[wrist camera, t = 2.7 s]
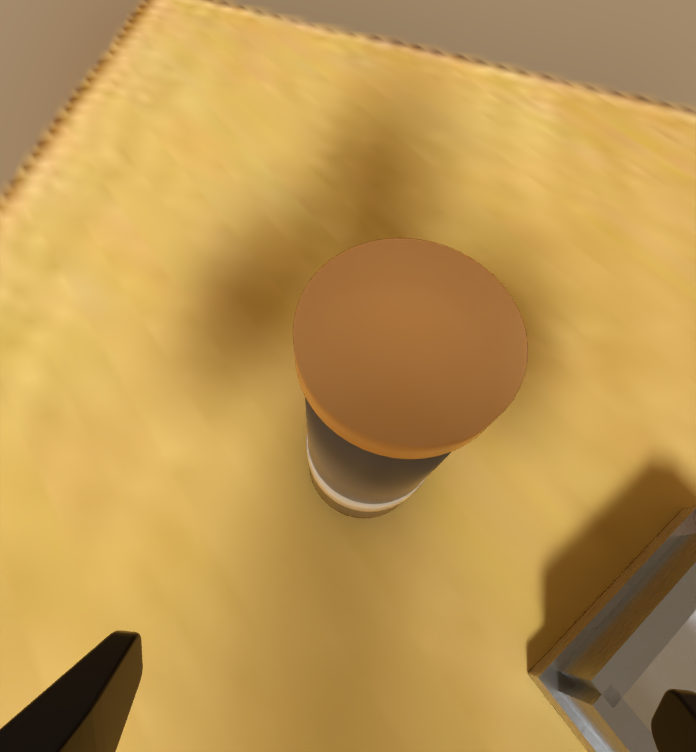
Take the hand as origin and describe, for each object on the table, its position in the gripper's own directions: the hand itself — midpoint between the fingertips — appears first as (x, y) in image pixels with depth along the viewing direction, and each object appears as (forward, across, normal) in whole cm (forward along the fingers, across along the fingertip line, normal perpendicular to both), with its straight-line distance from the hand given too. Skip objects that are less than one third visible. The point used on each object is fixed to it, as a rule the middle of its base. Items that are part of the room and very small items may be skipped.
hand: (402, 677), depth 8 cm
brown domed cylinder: (+14, 0, +4) cm, 15 cm away
